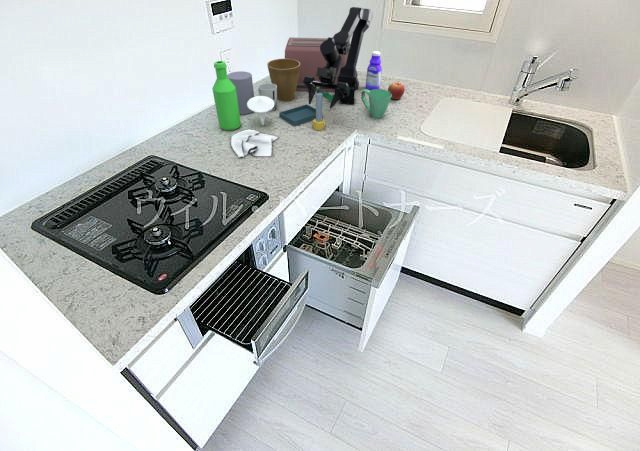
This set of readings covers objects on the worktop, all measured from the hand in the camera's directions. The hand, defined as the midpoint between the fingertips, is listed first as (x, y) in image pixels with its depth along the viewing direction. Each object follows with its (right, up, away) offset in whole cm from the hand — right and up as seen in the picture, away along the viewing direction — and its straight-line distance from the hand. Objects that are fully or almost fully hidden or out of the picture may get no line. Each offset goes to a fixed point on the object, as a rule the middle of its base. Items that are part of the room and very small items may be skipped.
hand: (319, 106), depth 134 cm
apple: (+37, +15, +32) cm, 51 cm away
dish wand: (0, -7, +6) cm, 9 cm away
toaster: (-1, +27, +43) cm, 51 cm away
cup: (-23, +6, +20) cm, 31 cm away
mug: (+24, +2, +17) cm, 29 cm away
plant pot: (-17, +14, +29) cm, 36 cm away
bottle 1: (-37, -7, +6) cm, 38 cm away
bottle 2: (+27, +23, +41) cm, 54 cm away
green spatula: (+2, +14, +30) cm, 33 cm away
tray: (-8, 0, +14) cm, 16 cm away
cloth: (-26, -17, -6) cm, 31 cm away
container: (-34, +5, +18) cm, 39 cm away
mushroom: (-24, -6, +7) cm, 25 cm away
